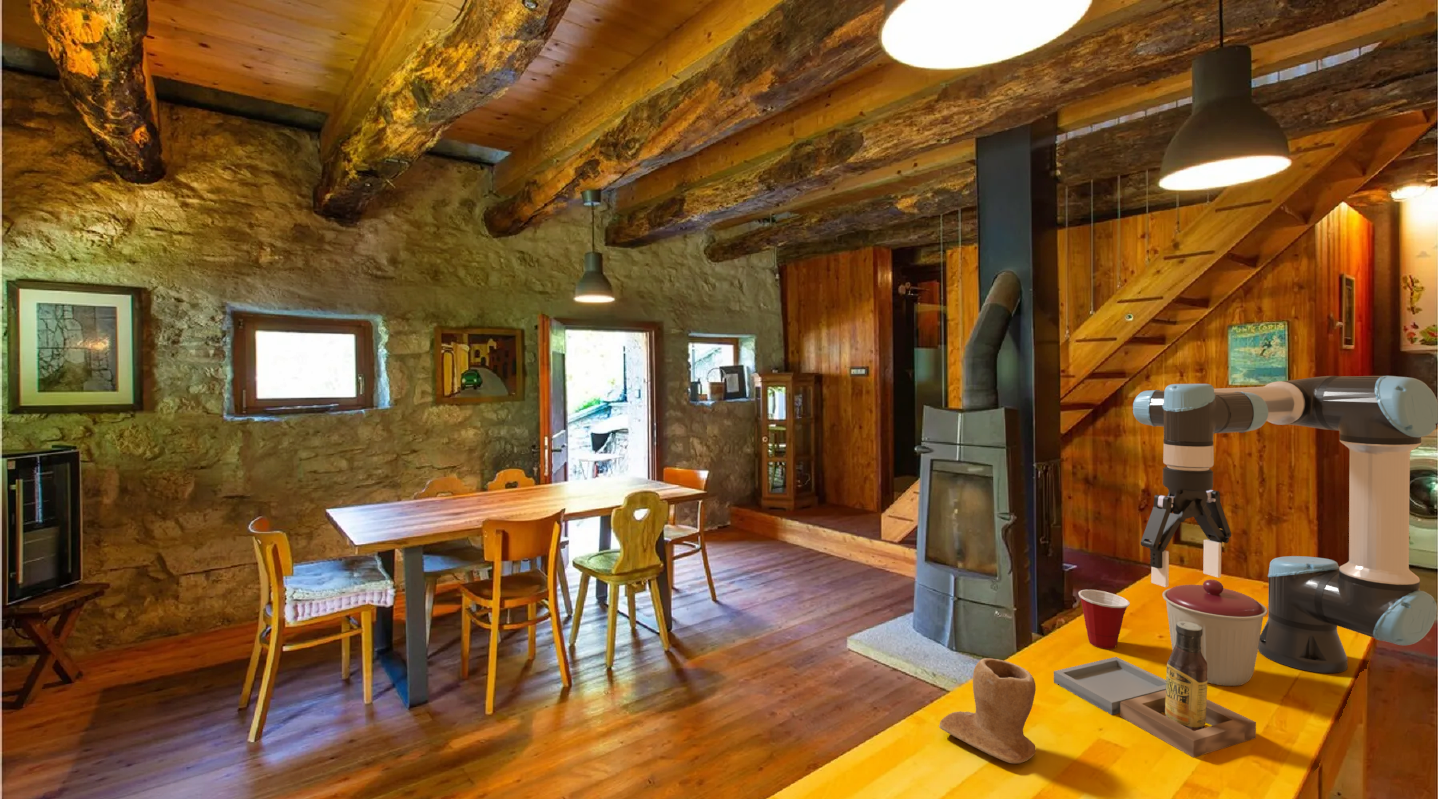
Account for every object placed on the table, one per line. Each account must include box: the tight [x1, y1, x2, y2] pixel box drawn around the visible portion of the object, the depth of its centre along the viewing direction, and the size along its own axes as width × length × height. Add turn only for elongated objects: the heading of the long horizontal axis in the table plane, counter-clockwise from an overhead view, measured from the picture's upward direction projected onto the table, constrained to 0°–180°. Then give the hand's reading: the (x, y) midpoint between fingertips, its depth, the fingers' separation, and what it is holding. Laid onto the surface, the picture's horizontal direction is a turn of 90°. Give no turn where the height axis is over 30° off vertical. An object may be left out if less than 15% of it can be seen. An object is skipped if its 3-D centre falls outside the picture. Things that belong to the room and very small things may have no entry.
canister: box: [1162, 579, 1268, 687], centre depth 140 cm, size 18×18×21 cm
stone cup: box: [938, 657, 1037, 764], centre depth 117 cm, size 15×12×15 cm
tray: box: [1053, 656, 1166, 716], centre depth 135 cm, size 18×14×2 cm
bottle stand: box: [1119, 690, 1257, 758], centre depth 121 cm, size 16×14×3 cm
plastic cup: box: [1078, 589, 1130, 650], centre depth 156 cm, size 11×11×12 cm
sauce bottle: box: [1164, 621, 1208, 731], centre depth 120 cm, size 7×6×20 cm
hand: (1186, 580), depth 120 cm, fingers open, 13 cm apart
